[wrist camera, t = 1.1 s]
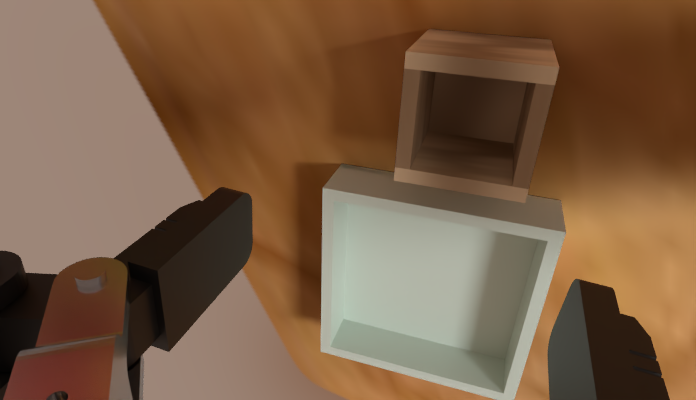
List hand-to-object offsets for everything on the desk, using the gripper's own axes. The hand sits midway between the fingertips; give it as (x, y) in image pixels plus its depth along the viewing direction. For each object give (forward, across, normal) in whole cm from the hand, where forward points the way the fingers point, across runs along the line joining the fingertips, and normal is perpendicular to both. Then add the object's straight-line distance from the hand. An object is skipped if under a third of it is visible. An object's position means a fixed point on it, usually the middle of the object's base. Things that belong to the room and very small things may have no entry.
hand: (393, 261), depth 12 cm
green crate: (+17, 0, +12) cm, 21 cm away
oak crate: (+17, -1, 0) cm, 17 cm away
